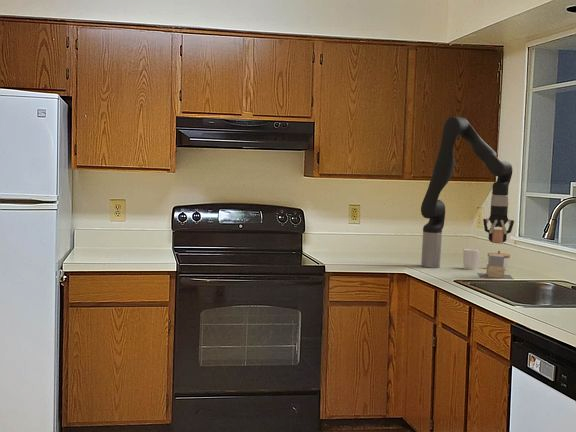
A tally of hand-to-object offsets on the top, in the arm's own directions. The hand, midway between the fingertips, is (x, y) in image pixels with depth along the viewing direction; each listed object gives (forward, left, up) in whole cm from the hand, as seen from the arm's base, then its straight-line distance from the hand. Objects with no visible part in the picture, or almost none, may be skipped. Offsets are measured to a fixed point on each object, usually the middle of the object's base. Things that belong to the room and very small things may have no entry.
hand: (497, 241), depth 342 cm
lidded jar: (-27, +5, -17) cm, 32 cm away
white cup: (-20, -9, -17) cm, 28 cm away
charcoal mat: (0, 0, -17) cm, 17 cm away
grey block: (0, 0, -11) cm, 11 cm away
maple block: (0, 0, -16) cm, 16 cm away
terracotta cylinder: (0, 0, -1) cm, 1 cm away
